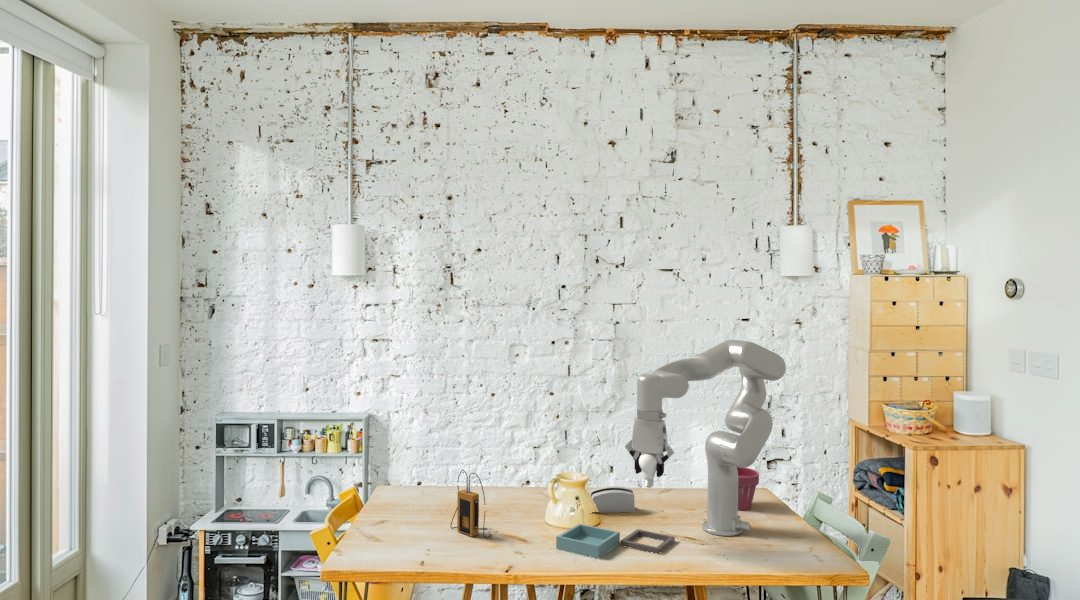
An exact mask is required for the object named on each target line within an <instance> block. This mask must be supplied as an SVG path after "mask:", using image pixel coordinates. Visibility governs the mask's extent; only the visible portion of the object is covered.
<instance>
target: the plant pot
mask: <svg viewBox="0 0 1080 600" xmlns="http://www.w3.org/2000/svg"><path fill="white" fill-rule="evenodd" d="M737 471H738V511H748V510H750V509H751V508H752V504H753V500H754V496H755V493H756V492H755V491H756V487H757V486H758V485H759V483H760V474H759V472H758V471H757V470H755V469H753V468H749V467H746V468H740V467H737Z"/></svg>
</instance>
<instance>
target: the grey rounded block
mask: <svg viewBox="0 0 1080 600" xmlns="http://www.w3.org/2000/svg"><path fill="white" fill-rule="evenodd" d="M590 495H591V497H592V499H593V501H594V503H595V504H596V507H597V509H598V511H599V512H600V513H625V512H627V513H629V512H636V511H635V510H636V508H635V493H634V491H633V489H631V488H629V487H625V486H617V485H609V486H607V485H606V486H602V487H601V486H600V487H597V488H594V489H591V490H590V494H589V496H590Z"/></svg>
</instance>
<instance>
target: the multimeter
mask: <svg viewBox="0 0 1080 600" xmlns="http://www.w3.org/2000/svg"><path fill="white" fill-rule="evenodd" d="M462 472H464V473H465V475H466V488H465V489H462V490H460V488H459V486H457V501H456V502H457V504H456V505H457V507H456V510H455V511H454V513H453V516H452V519H451V522H450V529H455V528H456V529H457V530H456V531H457V532H458V533H460V534H464V535H466V536H469V537H471V538H472V537H475V536H478V535H479V530H483V537H484V538H486V539H487V538H491V537H492V533H491V530H490V529H492V527H485V525H483V527H479V526H480V525H479V523H480V522H479V521H480V520H479V517H480V513H479V512H480V510H479V509H480V495H479V493H477V492H474V491H471V480H470V479H471V475H473V474H474V475H475V476H476V477H477V479H478V480H479V482H480V486H481V490H482V494H483V501H484V504H486V497H485V492H484V487H483V484H482V481H481V478H480V477H479V475H478V474H477V473H475V472H471V473H470V474H469V476H468V473H467V471H466V470H464V469H461V471H460V472H459V474H458V477H457V481H459V480H460V476H461V473H462ZM456 514H457V516H456V517H457V519H456V520H457V521H456V522H457V524H456V525H457V526H454V527H452V524H453V520H454V518H455V515H456ZM483 517H484V518H483V523H485V519H486V512H484V514H483ZM485 530H488V534H489V536H486V535H485Z"/></svg>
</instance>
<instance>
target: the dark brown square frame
mask: <svg viewBox="0 0 1080 600" xmlns="http://www.w3.org/2000/svg"><path fill="white" fill-rule="evenodd" d="M639 536H640V537H644V538H648V537H649V538H650V539H653V540H657V539H659V540H658V541H662V540H663V542H661V543H660V544H659V545H658V546H654V545H649V544H648V545H647V544H644V543H639V542H634V540H635V539H637V538H638V537H639ZM636 537H637V538H636ZM649 538H648V539H649ZM675 539H676V537H675V536H673V535H667V534H662V533H659V532H658V533H657V532H653V531H648V530H643V529H639V528H637V529H636V530H634V531H632V532H631V533H630V534H628V535H626V537H624V538H623V539H620V544H619V546H620V545H622V546H621V547H624V546H626V547H625V548H628V547H631V548H630V549H633V548H634V550H637V549H639V551H642V550H643V552H646V551H648V552H647V553H651V552H653V553H652V554H655V553H657V554H656V555H660V554H661V553H662V552H663V550H664V549H665V550H666V549H668V548H669V547H670V546H671V545H673V544H674V543H675V542H676V541H675ZM673 542H674V543H673ZM669 545H670V546H669ZM668 546H669V547H668ZM665 550H664V551H665ZM660 552H661V553H660ZM659 553H660V554H659Z"/></svg>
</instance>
